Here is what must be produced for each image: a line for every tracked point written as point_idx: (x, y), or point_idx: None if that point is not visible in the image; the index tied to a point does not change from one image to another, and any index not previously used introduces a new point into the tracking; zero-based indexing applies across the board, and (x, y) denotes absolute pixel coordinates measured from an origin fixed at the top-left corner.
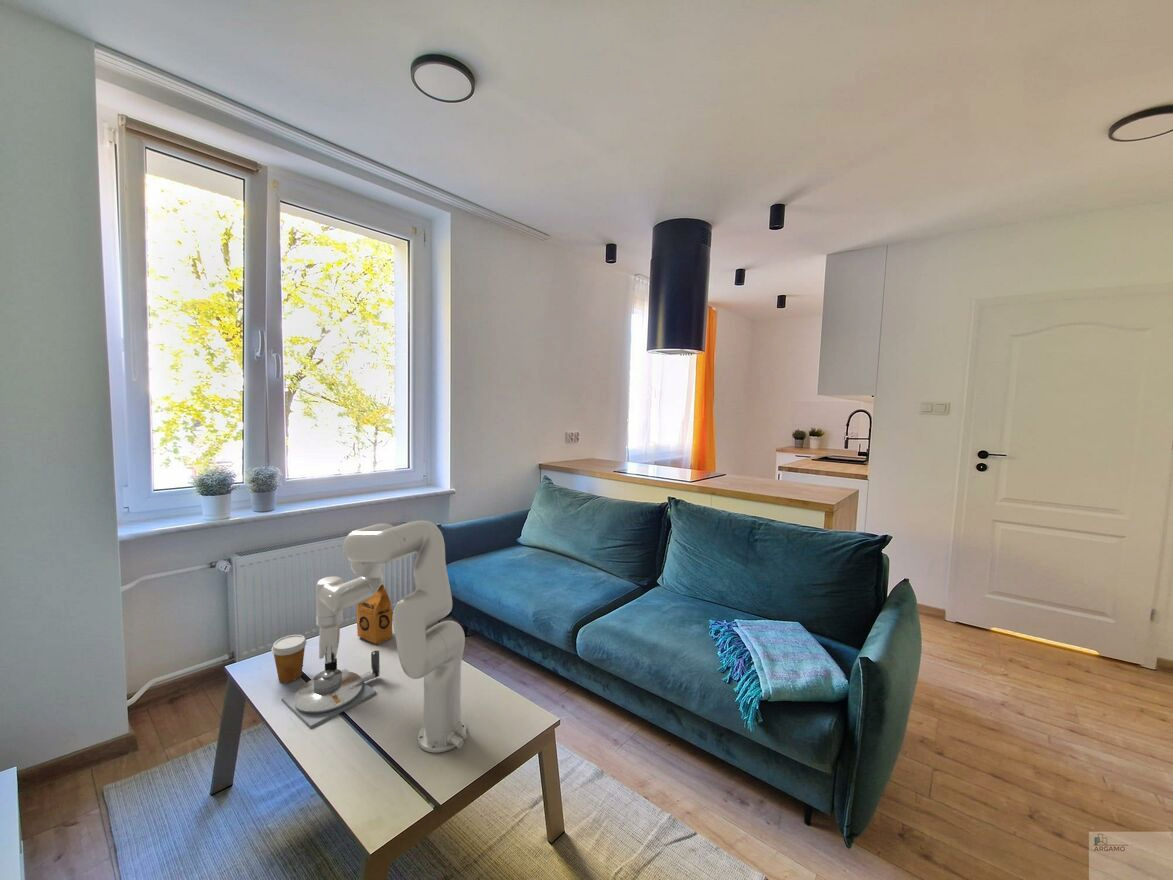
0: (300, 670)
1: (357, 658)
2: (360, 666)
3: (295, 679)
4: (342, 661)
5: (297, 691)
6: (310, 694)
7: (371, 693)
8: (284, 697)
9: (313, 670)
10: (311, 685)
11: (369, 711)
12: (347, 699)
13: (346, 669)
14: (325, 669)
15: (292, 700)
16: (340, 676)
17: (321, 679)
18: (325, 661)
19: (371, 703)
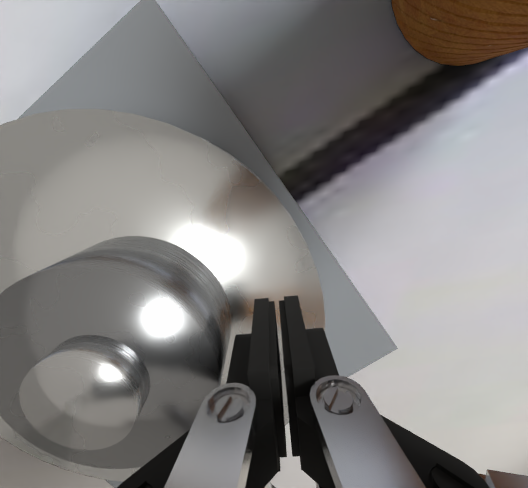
0: (467, 45)
1: (507, 378)
2: (408, 402)
3: (406, 34)
4: (515, 305)
5: (117, 114)
6: (66, 226)
7: (117, 485)
8: (149, 17)
9: (486, 143)
10: (184, 205)
11: (12, 474)
12: (4, 437)
13: (386, 354)
14: (252, 325)
15: (104, 95)
16: (92, 461)
17: (45, 339)
18: (194, 423)
19: (68, 476)
